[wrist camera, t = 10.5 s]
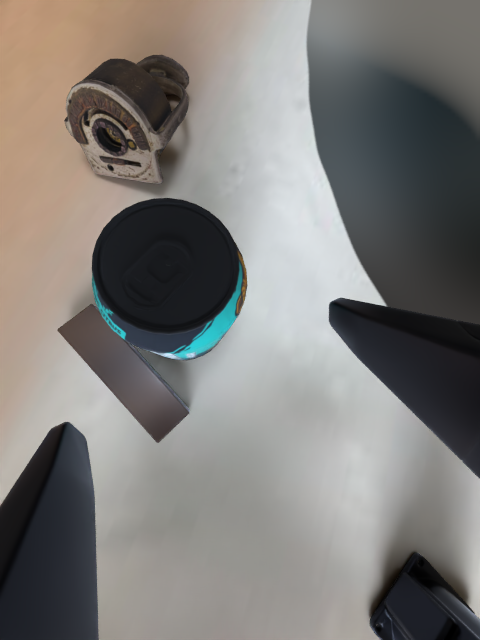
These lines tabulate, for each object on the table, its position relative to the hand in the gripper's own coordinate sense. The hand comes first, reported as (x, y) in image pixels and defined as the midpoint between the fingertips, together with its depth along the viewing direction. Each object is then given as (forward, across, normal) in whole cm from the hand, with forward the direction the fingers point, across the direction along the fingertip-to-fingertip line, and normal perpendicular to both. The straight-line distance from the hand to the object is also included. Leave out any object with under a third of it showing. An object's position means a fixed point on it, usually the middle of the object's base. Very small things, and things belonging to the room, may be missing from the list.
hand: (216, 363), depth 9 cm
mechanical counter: (+25, -4, -6) cm, 26 cm away
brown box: (+11, +6, +8) cm, 15 cm away
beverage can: (+13, 0, +6) cm, 14 cm away
